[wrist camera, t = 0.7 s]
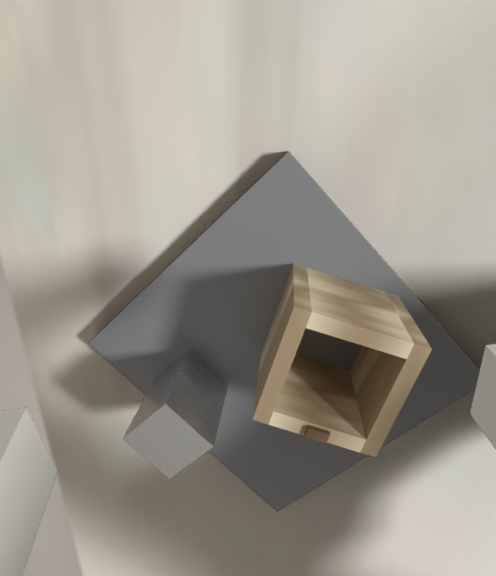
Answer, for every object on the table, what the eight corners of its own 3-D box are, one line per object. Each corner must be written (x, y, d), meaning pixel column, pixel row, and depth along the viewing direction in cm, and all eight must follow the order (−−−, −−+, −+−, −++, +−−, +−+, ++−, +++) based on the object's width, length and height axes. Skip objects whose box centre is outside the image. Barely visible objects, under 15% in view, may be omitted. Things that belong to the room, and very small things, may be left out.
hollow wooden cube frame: (398, 296, 27) (433, 352, 21) (357, 385, 30) (376, 461, 23) (293, 263, 27) (294, 309, 21) (260, 355, 30) (251, 423, 23)
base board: (478, 368, 30) (488, 380, 29) (277, 497, 36) (277, 511, 35) (288, 150, 26) (288, 152, 25) (96, 334, 32) (88, 343, 31)
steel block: (231, 372, 32) (213, 446, 25) (196, 400, 33) (169, 478, 26) (195, 338, 32) (165, 403, 24) (160, 367, 33) (122, 438, 25)
